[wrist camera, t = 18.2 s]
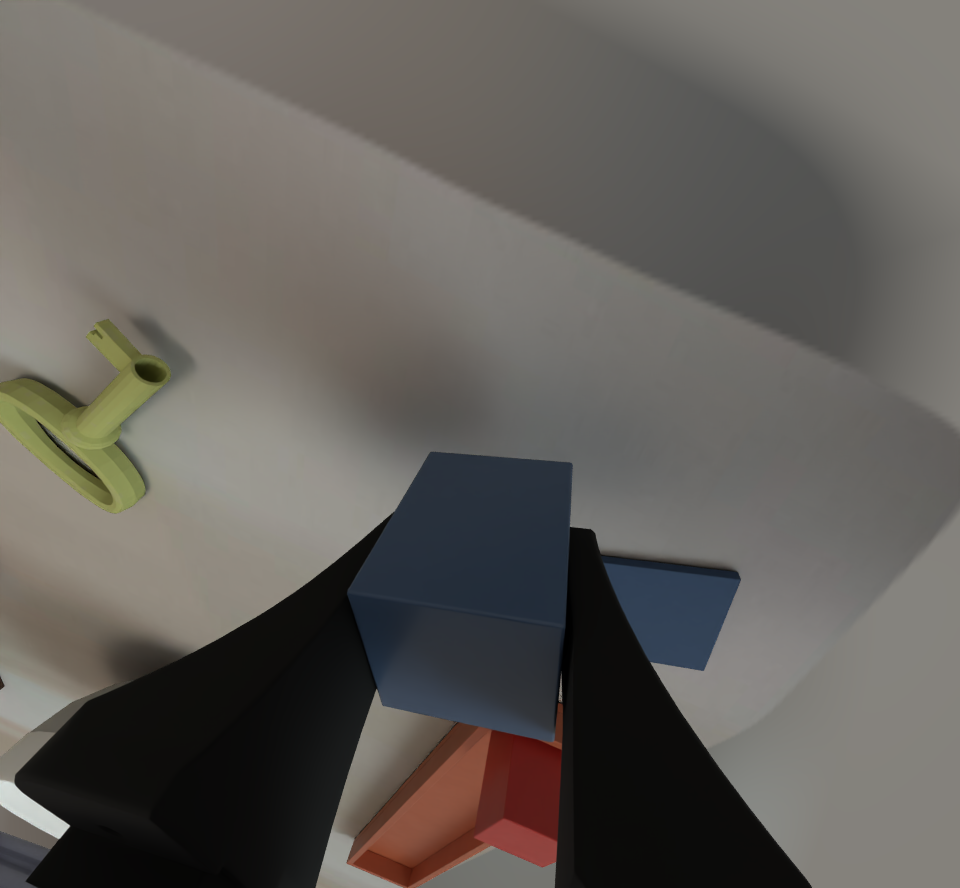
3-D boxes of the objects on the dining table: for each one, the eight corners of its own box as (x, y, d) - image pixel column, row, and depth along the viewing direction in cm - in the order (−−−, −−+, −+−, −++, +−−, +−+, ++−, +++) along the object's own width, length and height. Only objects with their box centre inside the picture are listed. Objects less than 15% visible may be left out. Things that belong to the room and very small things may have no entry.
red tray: (498, 675, 23) (492, 713, 21) (621, 730, 23) (624, 772, 21) (354, 838, 46) (346, 863, 44) (417, 865, 46) (410, 890, 44)
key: (204, 355, 16) (155, 376, 14) (140, 513, 22) (101, 541, 20) (22, 216, 14) (-58, 219, 13) (11, 427, 21) (-44, 449, 19)
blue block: (572, 461, 11) (565, 627, 7) (563, 567, 13) (554, 744, 9) (430, 450, 12) (344, 592, 8) (442, 551, 14) (381, 706, 10)
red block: (517, 705, 23) (503, 818, 19) (581, 734, 23) (581, 852, 19) (490, 731, 25) (472, 837, 21) (549, 757, 25) (542, 868, 21)
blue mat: (738, 571, 16) (741, 579, 15) (701, 662, 19) (704, 671, 18) (577, 552, 17) (577, 559, 17) (568, 641, 20) (568, 648, 20)
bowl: (360, 742, 32) (293, 907, 24) (266, 779, 41) (198, 905, 34) (137, 604, 28) (-23, 752, 20) (91, 681, 37) (-28, 799, 30)
